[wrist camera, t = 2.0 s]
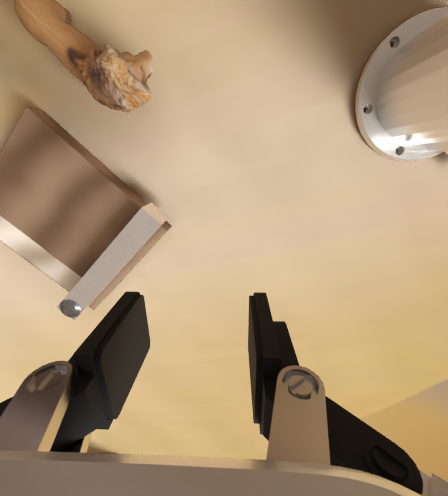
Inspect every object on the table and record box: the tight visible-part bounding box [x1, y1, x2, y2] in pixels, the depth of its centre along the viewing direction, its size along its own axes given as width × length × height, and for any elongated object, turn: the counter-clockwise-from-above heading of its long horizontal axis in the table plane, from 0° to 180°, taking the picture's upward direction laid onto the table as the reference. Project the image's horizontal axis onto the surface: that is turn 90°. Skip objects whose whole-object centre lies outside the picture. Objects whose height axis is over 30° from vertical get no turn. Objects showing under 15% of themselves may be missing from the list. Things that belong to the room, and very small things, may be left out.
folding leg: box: [57, 203, 168, 320], centre depth 27 cm, size 16×2×3 cm, turn 136°
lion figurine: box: [14, 0, 154, 112], centre depth 20 cm, size 15×5×9 cm, turn 58°
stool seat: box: [0, 107, 171, 310], centre depth 29 cm, size 18×15×2 cm
